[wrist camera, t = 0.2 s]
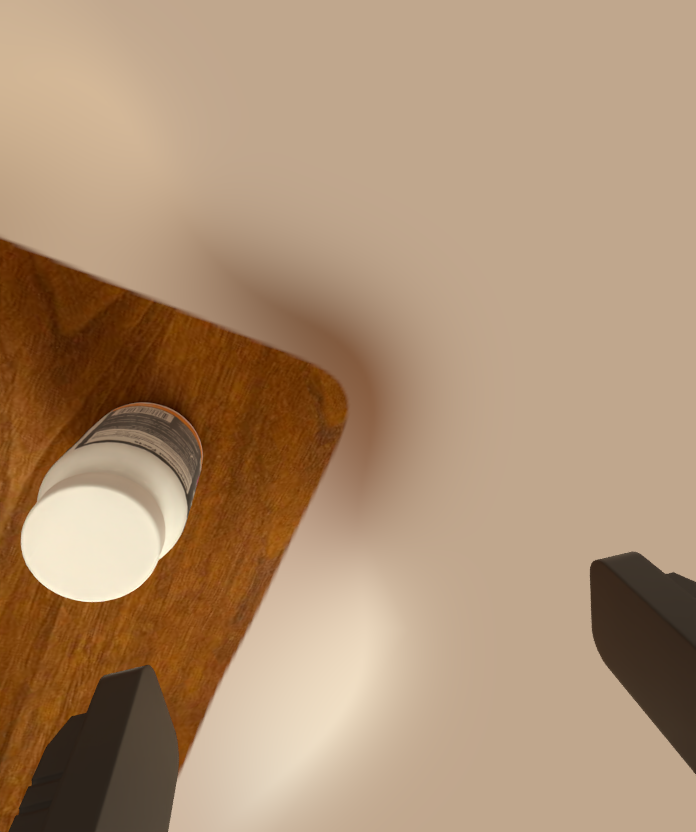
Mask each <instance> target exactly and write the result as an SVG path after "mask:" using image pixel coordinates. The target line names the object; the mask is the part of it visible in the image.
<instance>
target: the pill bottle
mask: <svg viewBox="0 0 696 832" xmlns="http://www.w3.org/2000/svg"><path fill="white" fill-rule="evenodd" d="M202 460H203V452H202V446H201V442H200V439H199V437H198V434H197V433H196V431H195V429H194V428H193V426H192V425H191V424H190V423H189V421H188V420H186V419H185V418H184V417H183V416H182V415H180V414H179V413H178V412H176V411H174V410H173V409H171V408H168V407H166V406H162V405H159V404H155V403H147V402H139V403H131V404H127V405H124V406H121V407H118V408H116V409H114V410H112V411H111V412H109V413H108V414H107V415H105V416H104V417H103V418H102V419H100V420H99V421H98V422H97V423H96V424H95V425H94V426H93V427H92V428H90V429H89V430H88V431H87V432H86V433H85V434H84V435H83V436H82V438H80V440H79V441H78V442H76V443H75V445H74V446H73V447H71V448H70V449H68V450H67V452H66V453H65V454H64V455H63V456H62V457H61V458H60V459H59V460H58V461H57V462H56V463H55V464H54V465H53V466H52V467H51V468H50V470H49V471H48V472H47V474H46V476H45V477H44V480H43V482H42V484H41V487H40V490H39V494H38V499H37V503H36V504H35V506H34V507H33V508H32V509H31V511H30V512H29V514H28V516H27V518H26V520H25V522H24V525H23V528H22V533H21V549H22V553H23V557H24V559H25V562H26V564H27V566H28V567H29V569H30V571H31V572H32V573H33V575H34V576H35V577H36V578H37V579H38V580H39V581H40V582H41V583H42V584H43V585H44V586H46V587H47V588H48V589H50V590H52V591H53V592H55V593H57V594H59V595H61V596H64V597H67V598H70V599H74V600H78V601H84V602H100V601H107V600H112V599H116V598H119V597H121V596H124V595H126V594H128V593H130V592H132V591H133V590H135V589H136V588H138V587H139V586H140V585H141V584H143V583H144V582H145V581H146V580H147V578H148V577H149V576H150V575H151V574H152V572H153V570H154V568H155V567H156V565H157V562H158V560H159V559H160V558H162V557H163V556H164V555H165V554H166V553H167V552H168V551H169V550H170V549H171V548H172V547H173V546H174V545H175V544H176V542H177V541H178V539H179V538H180V536H181V534H182V532H183V530H184V527H185V524H186V521H187V518H188V514H189V511H190V508H191V505H192V500H193V497H194V493H195V490H196V486H197V483H198V479H199V476H200V472H201V468H202Z"/></svg>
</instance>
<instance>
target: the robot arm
mask: <svg viewBox="0 0 696 832" xmlns="http://www.w3.org/2000/svg"><path fill="white" fill-rule="evenodd" d="M590 588H591V615H592V616H591V617H592V633H593V638H594V641H595V644H596V647H597V650H598V652H599V654H600V656H601V657H602V659H603V661H604V662H605V664H606V665H607V667H608V668H609V669H610V670H611V671H612V673H613V674H614V675H615V677H616V678H617V679H618V680H619V681H620V683H621V684H622V685H623V686H624V687H625V689H626V690H627V691H628V692H629V694H630V695H631V696H632V697H633V698H634V700H635V701H636V702H637V703H638V705H639V706H640V707H641V708H642V709H643V711H644V712H645V713H646V714H647V715H648V717H649V718H650V719H651V720H652V722H653V723H654V724H655V725H656V726H657V728H658V729H659V730H660V731H661V732H662V734H663V735H664V736H665V737H666V738H667V740H668V741H669V742H670V743H671V745H672V746H673V747H674V748H675V749H676V751H677V752H678V753H679V754H680V756H681V757H682V758H683V759H684V760H685V762H686V763H687V764H688V765H689V767H691V769H692V770H693V771H694V773H695V774H696V582H694V581H692V580H690V579H688V578H685V577H683V576H681V575H678V574H676V573H669V574H665V573H663V572H662V571H661V570H660V569H658V568H657V567H656V566H655V565H653V564H652V563H651V562H650V561H649V560H647V559H646V558H645V557H644V556H642V555H641V554H639V553H637V552H629V553H624V554H620V555H616V556H612V557H608V558H604V559H599V560H595V561H593V562H592V564H591V567H590ZM178 766H179V753H178V743H177V737H176V733H175V729H174V726H173V723H172V721H171V718H170V715H169V712H168V709H167V706H166V703H165V700H164V697H163V694H162V691H161V689H160V686H159V683H158V680H157V677H156V674H155V672H154V670H153V668H152V667H151V666H150V665H146V666H142V667H137V668H133V669H129V670H125V671H121V672H116V673H112V674H108V675H104V676H103V677H102V678H101V679H100V681H99V683H98V685H97V688H96V690H95V693H94V695H93V698H92V700H91V703H90V705H89V708H88V711H87V713H84V714H80V715H76V716H72V717H71V718H70V719H69V720H68V721H67V723H66V724H65V725H64V726H63V727H62V729H61V730H60V731H59V732H58V733H57V735H56V736H55V737H54V738H53V740H52V741H51V742H50V743H49V744H48V746H47V747H46V749H45V751H44V753H43V756H42V758H41V760H40V762H39V765H38V767H37V769H36V771H35V774H34V776H33V778H32V786H30V787H28V789H27V791H26V794H25V796H24V798H23V800H22V803H21V805H20V807H19V815H17V816H15V818H14V821H13V823H12V825H11V827H10V830H9V832H168V829H169V823H170V817H171V810H172V805H173V799H174V793H175V787H176V782H177V776H178Z"/></svg>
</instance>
